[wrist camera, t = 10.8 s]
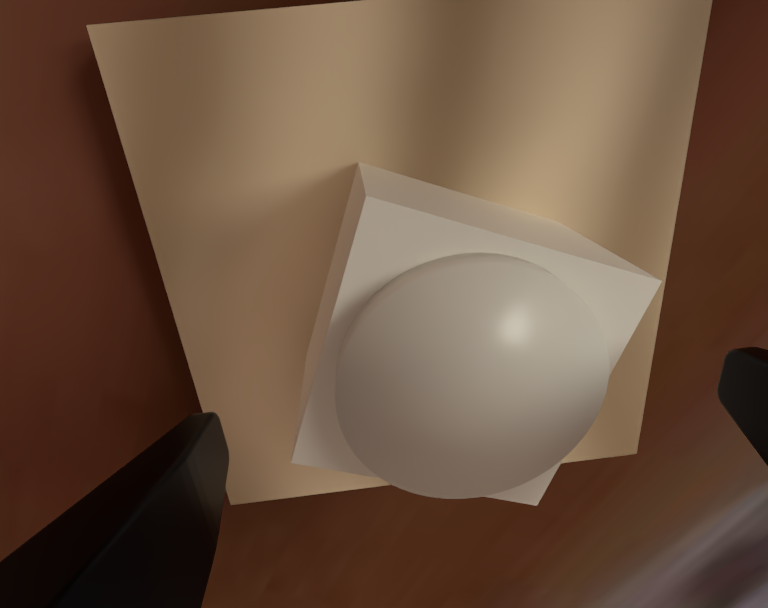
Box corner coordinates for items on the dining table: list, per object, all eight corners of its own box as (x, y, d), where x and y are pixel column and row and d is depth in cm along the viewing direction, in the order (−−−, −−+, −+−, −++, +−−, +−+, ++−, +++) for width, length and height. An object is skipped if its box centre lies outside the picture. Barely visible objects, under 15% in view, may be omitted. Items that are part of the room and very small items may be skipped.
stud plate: (687, -22, 11) (849, -79, 8) (620, 434, 17) (696, 525, 13) (108, 31, 11) (-12, -3, 7) (236, 482, 17) (206, 590, 13)
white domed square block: (358, 161, 12) (367, 203, 7) (558, 221, 13) (684, 293, 8) (307, 353, 14) (287, 485, 9) (482, 391, 15) (547, 528, 10)
